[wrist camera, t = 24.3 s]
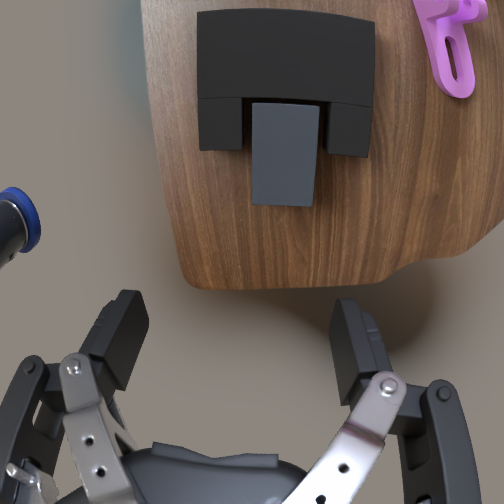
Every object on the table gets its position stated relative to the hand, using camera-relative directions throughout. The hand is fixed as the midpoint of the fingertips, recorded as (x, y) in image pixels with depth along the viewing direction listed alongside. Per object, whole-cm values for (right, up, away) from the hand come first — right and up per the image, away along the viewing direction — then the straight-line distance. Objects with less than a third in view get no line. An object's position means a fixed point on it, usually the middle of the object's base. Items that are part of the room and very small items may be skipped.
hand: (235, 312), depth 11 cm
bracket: (+22, +25, +7) cm, 34 cm away
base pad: (+4, +19, +12) cm, 23 cm away
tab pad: (+4, +13, +16) cm, 21 cm away
